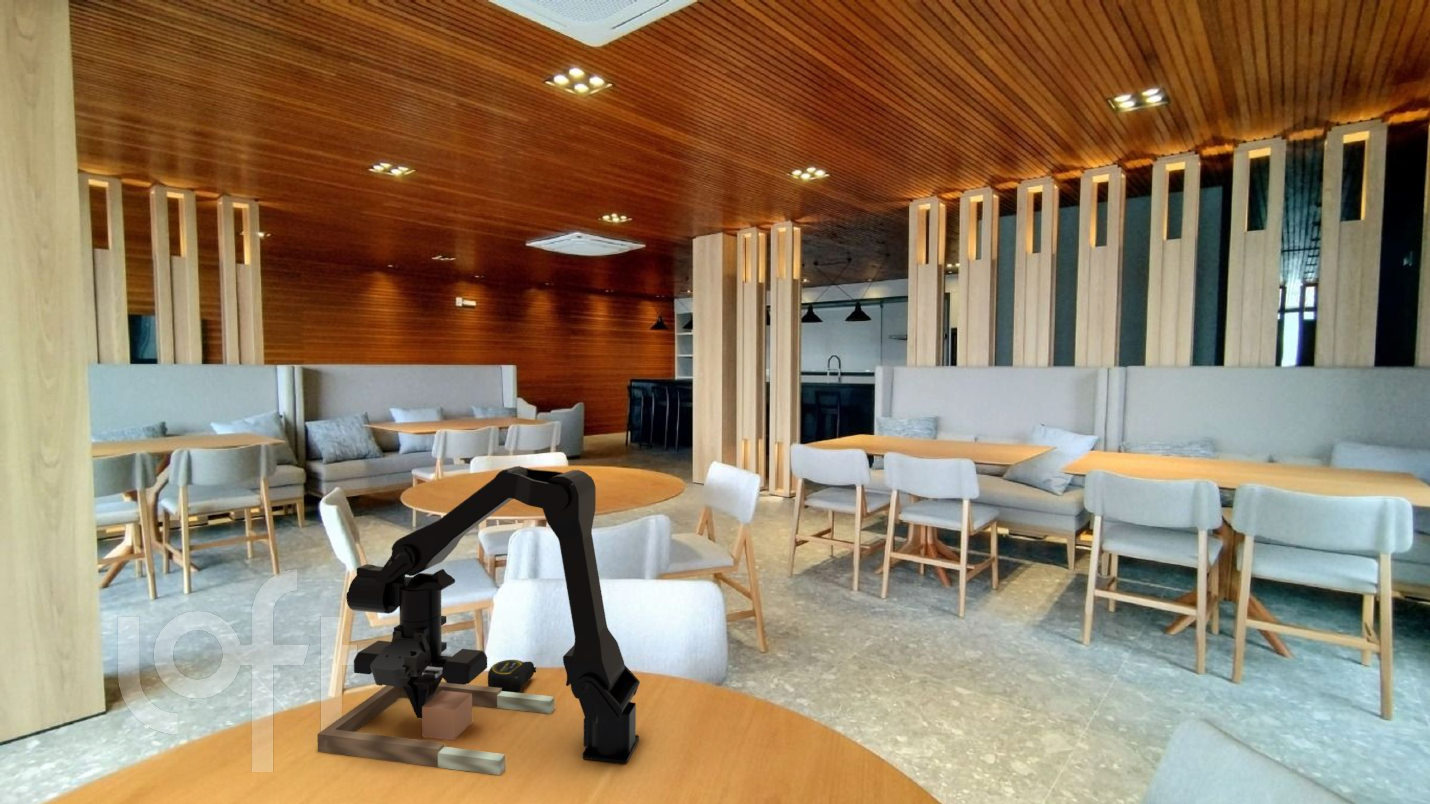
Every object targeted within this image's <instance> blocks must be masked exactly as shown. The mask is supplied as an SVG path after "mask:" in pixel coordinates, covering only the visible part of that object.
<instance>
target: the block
mask: <svg viewBox="0 0 1430 804" xmlns="http://www.w3.org/2000/svg"><path fill="white" fill-rule="evenodd" d="M421 720H422V721H421V722H422V723H421V724H422V727H421V729H422V730H421V731H422V734H421V735H422V736H421V737H423V738H428V739H429V738H430V739H437V740H438V739H439V740H447V741H453V742H454V741H455V740H456V739H457V738H458V737H459V736H460V735H461V734H462V733H464V731H465V730H467V728H468V727H469V726H470V725H471V724H472V723H473V705H472V694H471V693H461V692H452V691H443V690H442V691H441V692H440V693H438V694H437V695H436V696H435V697H433V698H432V699H431V700H430V701H429V702H427V703H426V704H425V705H424V706H422V719H421Z"/></svg>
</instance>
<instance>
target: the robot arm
mask: <svg viewBox="0 0 1430 804" xmlns="http://www.w3.org/2000/svg"><path fill="white" fill-rule="evenodd" d="M596 489H597V488H596V484H595V482H594V479H593V477H592V476H590V475H589V474H588V473H586V472H585V471H582V470H580V469H571V470H569V471H565V472H563V471H562V472H561V471H555V470H546V469H545V470H544V469H533V468H527V467H524V466H521V465H519V466H512V467H509V468H505V469H502V470H501V471H499V472H498V473H497V474H496V475H495V477H494V478H492V479H491V480H490V481H488V482H487V483H485V484H484V485H483V486H482V487H480V488H479V489H478V490H477V491H475V492H473V493H472V494H471V495H470V496H468V497H467V498H466V499H464V500H463V501H462V502H460V503H459V504H458V505H457V506H455V507H453V509H451V510H450V511H449V512H447V513H446V514H445V515H443V516H442V517H441V518H440V519H438V520H436V521H434V522H431V523H429V524H427V525H425V526H423V527H421V528H419V529H416V530H414V531H412V532H410V533H409V534H406V535H404V536H402V537H400V538H398V539H397V540H395V542H394V543H393V545H392V547H391V555H390V557H389V558H388V560H387V561H386V563H384V565H383V566H379V565H374V564H370V563H369V564H368V563H366V564H364V565H361V566H359V567H357V568H356V575H355V576H354V577H353V579H352V580H351V582H350V585H349V587H348V591H347V592H346V604H347V606H348V607H349V609H350V610H352V611H356V612H367V613H375V614H377V613H379V614H386V615H387V614H392V613H395V611H397V609H399V624H398V625H396V626H394V627H393V632H392V638H391V641H390V640H389V641H387V640H377V641H375V642H374V643H372V644H370V645H368V646H367V647H365V648H363V649H362V650H360V651H358V652H357V653H356V655H355V656H354V659H353V673H354V674H361V675H372V677H373V681H374V683H375V685H376V686H379V687H381V686H386V685H388V686H393V687H398V688H399V687H403V688H404V690H405V692H406V694H407V696H408V701H409V702H410V704H411V707H412V710H413V712H414V714H415V717H416V718H417V719H421V720H422V706H424V705H425V704H426V703H427V702H429V701H430V700H431V699H432V698H433V697H434V694H435V692H436V690H437V688H438V686H439V684H440V682H442V681H443V680H444V682H447V683H452V684H462V685H464V684H470V683H471V682H473V680H475V679H476V678H477V677H479V676H480V674H482V673H483V672H484V671H485V670H487V668H488V656H487V653H485V652H484V650H480V649H468V648H462V649H460V650H459V651H457V652H456V653H454V654H453V655H451V654H445V653H443V652H444V651H446V650H447V649H448V648H447V642H446V641H442V640H443V639H442V638H443V636H442V626H443V625H446V624H447V615H442V590H445V589H446V588H448V587H450V586H452V585H453V584H455V583H456V579H455V578H454V577H452V575H450V574H449V573H447V572H446V570H445V569H443V568H441V569H440V570H438V571H435V572H434V573H428V572H427V573H425V572H423V571H425V570H428V569H430V568H432V567H434V566H436V565H439V564H440V563H442V562H444V560H446V558H447V557H448V556H449V555H450V554H451V553H452V552H453V551H454V550H455V549H456V547H457V546H458V544H459V543H460V541H461V540H462V538H463V537H465V535H467V534H468V533H469V532H470V531H472V530H473V529H474V528H476V527H478V526H479V525H480V524H481V523H483V521H485V520H487V518H489V517H490V516H492V515H494V514H495V512H497V511H499V510H500V509H501V508H503V507H504V506H506V505H507V504H508V503H509V502H511V501H512V500H516V501H518V502H520V503H523V504H525V505H527V506H529V507H534V508H539V509H542V512H543V514H544V517H545V520H546V524H547V525H548V526H549V528H550V529H551V531H552V532H553V533H554V535H555V536H556V538H557V541H558V544H559V549H560V555H561V562H562V567H563V573H564V578H565V584H566V590H567V592H566V593H567V595H568V596H567V597H568V603H569V610H570V615H571V616H570V617H571V621H572V626H573V627H572V628H573V634H574V644H573V645H572V646H571V648H570V649H568V651H567V652H566V653H565V654H564V655H563V656H562V661H563V662H562V663H563V665H564V670H565V673H566V682H565V686H566V687H569V686H570V690H571V693H572V696H573V697H574V699H578V700H579V704H580V706H581V709H582V710H581V711H582V712H583V715H584V718H583V739H582V740H583V744H582V745H583V747H584V748H585V749H584V750H583V752H582V755H581V757H582V759H583V760H592V761H600V762H609V763H614V764H615V763H616V764H627V762H629V759H630V757H631V756H632V753H633V752H634V750H635V748H636V747H637V744H638V742H639V740H640V736H639V735H638V734H636V726H637V725H636V723H637V722H636V718H637V715H636V714H637V713H636V712H637V709H636V707H637V704H636V702H631V700H633V698H634V696H635V695H636V693H637V692H638V689H639V687H640V685H641V684H640V683H641V682H640V680H639V679H638V677H636V675H635V674H634V673H633V672H632V671H631V670H630V669H629V668H628V667H627V665H626V664H625V660H624V658H623V654H622V652H621V649H620V646H619V643H618V641H617V640H616V638H615V636H614V635H613V634H612V632H611V631H610V629H609V627H608V624H607V618H606V611H605V606H604V599H603V594H602V589H601V588H602V587H601V582H600V576H599V570H598V563H597V557H596V553H595V551H596V550H595V546H594V540H593V538H594V537H593V533H592V529H593V524H594V519H595V513H596V501H597V500H596V495H597V494H596V493H597V492H596Z"/></svg>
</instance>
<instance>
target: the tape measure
mask: <svg viewBox="0 0 1430 804" xmlns="http://www.w3.org/2000/svg"><path fill="white" fill-rule="evenodd" d="M536 672H537V666H535V664H534V662H533V661H522V660H519V659H506V660H505V659H504V660H501V661H498V662H496V663H494V664H493V665H492V666H491V667H490V668H489V670H488V672H487V687H497V688H502V691H506V692H515V693H521V691H522V690H523V689H524V687H525V686H526V684H527V683H528V682H529V681H531V678H533V676H534V674H535V673H536Z"/></svg>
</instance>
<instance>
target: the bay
mask: <svg viewBox="0 0 1430 804" xmlns="http://www.w3.org/2000/svg"><path fill="white" fill-rule="evenodd" d="M442 690H443V691H452V692H461V693H471V694H472V706H475V707H476V706H477V707H487V708H494V709H495V708H497V709H503V710H504V709H505V710H511V711H512V710H514V711H522V712H531V713H538V714H540V713H541V714H549V715H550V714H552V713H553V711H554V710H555V696H551V695H550V696H549V695H541V694H532V693H522V692H517V693H515V692H506V691H502V688H497V687H488V685H486V686H485V685H479V684H478V685H477V684H470V683H468V684H464V685H462V684H452V683H447V682H446V681H441V682H440V684H439V686H438V688H437V690H436V692H435V694H434V697H435V696H436V695H437V694H438V693H440V692H441V691H442ZM400 698H408V696H407V694H406V692H405V690H404V688H403V687H399V688H398V687H393V686H388V685H384V686H383V687H382V688H380V689H379V690H378V691H376V692H375V693H374V694H372V695H371V696H369V697H367V699H365V700H364V701H362V702H361V703H359V704H358V705H357V706H355V707H353V708H352V709H350V710H349V711H348V712H347V713H345V714H343V715H342V716H341V717H339V718H338V719H336V720H335V721H334V722H332V723H331V724H330V725H328V726H326V728H324V729H322V730H321V731H319V732H318V733H317V737H316V738H317V752H321V753H326V754H334V755H343V756H349V757H351V756H352V757H358V758H359V757H360V758H365V759H374V760H380V761H387V762H388V761H389V762H395V763H396V762H397V763H402V764H403V763H404V764H410V765H419V766H425V767H426V766H427V767H432V768H433V767H434V768H441V769H449V770H456V771H464V772H472V773H479V774H487V775H494V776H501V774H502V773H503V772H504V771H505V770H506V753H505V754H504V753H496V752H489V751H481V750H475V749H474V750H473V749H466V748H456V747H450V746H445V743H444V742H439V741H431V740H430V741H429V740H421V739H413V738H407V737H399V736H398V737H397V736H390V735H383V734H374V733H366V732H360V731H359V732H358V730H359V729H361V728H362V727H364V726H365V725H366V724H367V723H369V722H370V721H371V720H372V719H374V718H375V717H376V716H378V715H379V714H380V713H381V712H383V711H384V710H385V709H387V708H388V707H390V706H391V705H392V704H394V703H395V702H397V701H398V700H399V699H400ZM408 699H409V698H408Z"/></svg>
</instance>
